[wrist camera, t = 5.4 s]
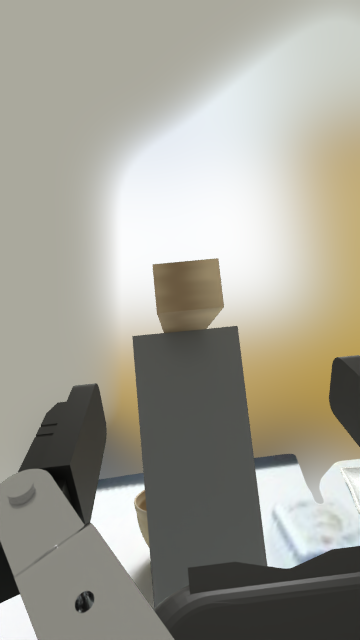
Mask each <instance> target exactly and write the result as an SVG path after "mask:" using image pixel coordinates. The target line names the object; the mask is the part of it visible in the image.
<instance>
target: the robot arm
mask: <svg viewBox="0 0 360 640" xmlns="http://www.w3.org/2000/svg"><path fill="white" fill-rule="evenodd" d="M329 394H330V395H329V402H330V406H331V409H332V411H333V414H334V415H335V416H336V418H337V419H338V420H339V422H340V423H341V424H342V425H343V426H344V428H345V429H346V430H347V431H348V433H349V434H350V435H351V437H352V438H353V439H354V440H355V442H356V443H357V444H358V445H359V447H360V356H359V355H357V356H348V357H337V358H335V359H334V361H333V364H332V373H331V383H330V393H329ZM105 443H106V421H105V416H104V411H103V406H102V401H101V396H100V391H99V387H98V385H97V384H96V383H95V384H86V385H76V386H73V388H72V390H71V392H70V395H69V397H68V400H67V402H60V403H57V404H56V405H55V406H54V407H53V408H52V409H51V410H50V411H49V412H47V413H46V416H45V418H44V420H43V422H42V424H41V427H40V428H39V430H38V432H37V434H36V437H35V438H34V440H33V442H32V444H31V446H30V449H29V451H28V453H27V455H26V457H25V459H24V461H23V463H22V465H21V467H20V469H19V471H18V473H16V474H14V475H12V476H11V477H9V478H7V479H6V480H5V481H3V482H2V483H1V484H0V603H2V602H4V601H6V600H8V599H10V598H12V597H14V596H17V595H19V594H20V595H21V597H22V600H23V602H24V605H25V608H26V610H27V613H28V615H29V618H30V621H31V623H32V626H33V628H34V631H35V634H36V636H37V639H38V640H360V546H356V547H348V548H340V549H332V550H330V551H328V552H326V553H324V554H321V555H319V556H317V557H315V558H313V559H310V560H308V561H306V562H304V563H302V564H300V565H297V566H295V567H293V568H290V569H282V568H275V567H268V566H261V565H254V564H248V563H241V562H229V563H221V564H213V565H205V566H197V567H189V568H188V577H189V585H188V586H186V587H184V588H182V589H179V590H178V591H176V592H175V593H173V594H171V595H170V596H168V597H167V598H166V599H165V600H163V601H162V602H161V603H160V604H158V605H157V607H156V608H155V609H154V610H153V608H152V607H151V606H150V604H149V603H148V601H147V600H146V599H145V597H144V596H143V594H142V593H141V591H140V590H139V589H138V587H137V586H136V584H135V583H134V582H133V580H132V579H131V577H130V576H129V574H128V573H127V572H126V570H125V569H124V567H123V566H122V565H121V563H120V562H119V560H118V559H117V557H116V556H115V555H114V553H113V552H112V550H111V549H110V548H109V546H108V545H107V543H106V542H105V540H104V539H103V538H102V536H101V535H100V533H99V532H98V531H97V529H96V528H95V527H94V526H93V524H91V523H90V520H91V515H92V510H93V505H94V499H95V494H96V489H97V484H98V479H99V474H100V468H101V464H102V458H103V453H104V448H105Z"/></svg>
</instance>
